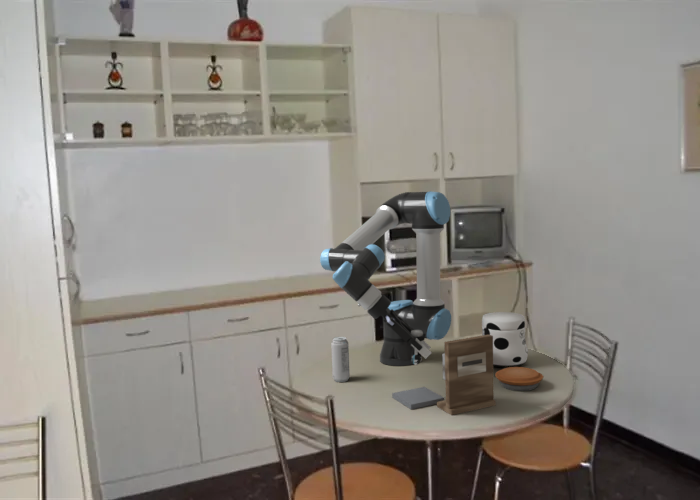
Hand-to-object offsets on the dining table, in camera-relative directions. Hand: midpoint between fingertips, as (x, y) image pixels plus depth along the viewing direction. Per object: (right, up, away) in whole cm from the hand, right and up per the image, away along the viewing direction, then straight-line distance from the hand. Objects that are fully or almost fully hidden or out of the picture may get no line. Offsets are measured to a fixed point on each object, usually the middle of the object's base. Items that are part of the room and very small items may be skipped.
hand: (428, 352), depth 197 cm
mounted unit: (+11, -16, -5) cm, 20 cm away
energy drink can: (-28, -14, +25) cm, 40 cm away
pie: (+32, -13, +12) cm, 37 cm away
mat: (-3, -15, +2) cm, 16 cm away
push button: (-4, -3, +1) cm, 5 cm away
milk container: (+33, -10, +37) cm, 50 cm away
